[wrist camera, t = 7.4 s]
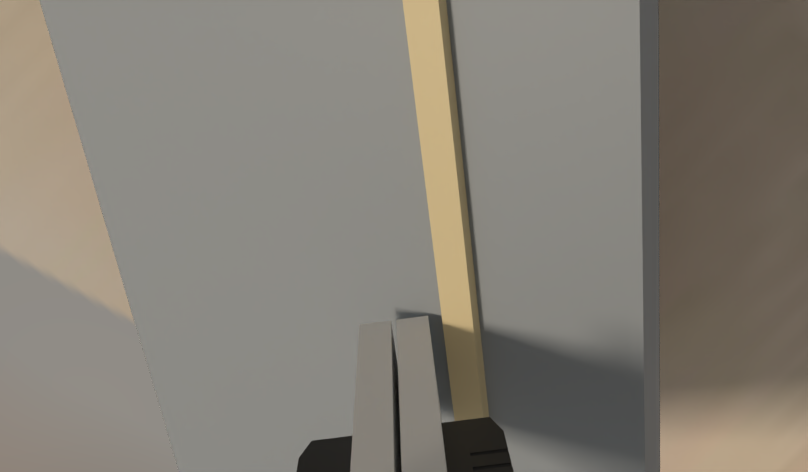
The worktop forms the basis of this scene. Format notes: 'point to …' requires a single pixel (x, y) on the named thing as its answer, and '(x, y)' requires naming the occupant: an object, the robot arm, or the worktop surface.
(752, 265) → the worktop surface
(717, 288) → the worktop surface
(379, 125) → the lid
